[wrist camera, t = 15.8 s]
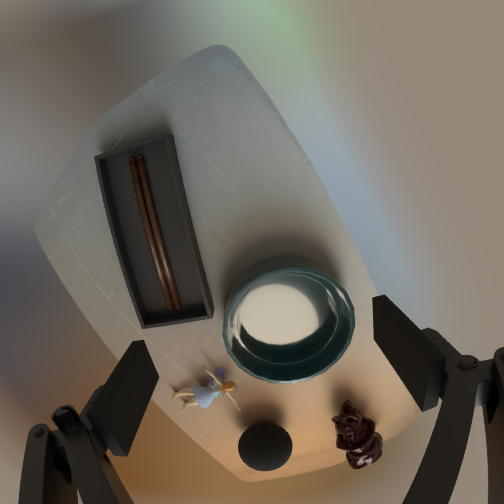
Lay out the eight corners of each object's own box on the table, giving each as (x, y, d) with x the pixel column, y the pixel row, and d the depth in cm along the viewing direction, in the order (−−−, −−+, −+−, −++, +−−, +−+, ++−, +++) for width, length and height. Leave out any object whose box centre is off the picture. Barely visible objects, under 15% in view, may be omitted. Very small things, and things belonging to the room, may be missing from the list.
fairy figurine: (154, 389, 45) (211, 369, 42) (163, 372, 49) (217, 351, 47) (194, 430, 47) (251, 415, 45) (200, 412, 52) (253, 396, 49)
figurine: (354, 431, 57) (326, 385, 54) (393, 436, 50) (371, 389, 46) (334, 465, 51) (300, 423, 48) (373, 474, 43) (346, 433, 40)
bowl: (335, 244, 43) (348, 254, 37) (346, 347, 47) (357, 367, 42) (212, 269, 44) (208, 283, 38) (240, 370, 48) (239, 392, 42)
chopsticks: (129, 158, 39) (126, 158, 38) (144, 153, 39) (141, 153, 38) (169, 309, 44) (167, 312, 43) (183, 306, 44) (181, 309, 43)
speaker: (255, 405, 50) (256, 445, 40) (299, 421, 51) (306, 459, 42) (229, 434, 52) (227, 472, 42) (271, 448, 54) (274, 484, 44)
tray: (173, 135, 39) (167, 132, 36) (214, 309, 45) (212, 318, 42) (103, 157, 39) (94, 156, 36) (147, 320, 45) (142, 329, 42)
